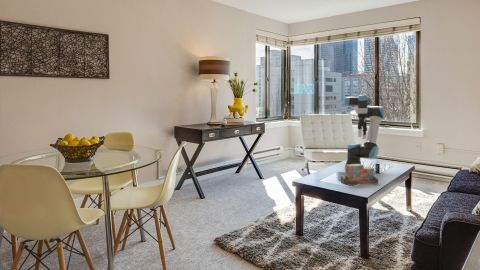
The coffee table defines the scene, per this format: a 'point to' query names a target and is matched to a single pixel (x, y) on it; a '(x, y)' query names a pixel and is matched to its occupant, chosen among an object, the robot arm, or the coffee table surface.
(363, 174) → the stack of blocks
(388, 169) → the coffee table surface
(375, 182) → the base board
